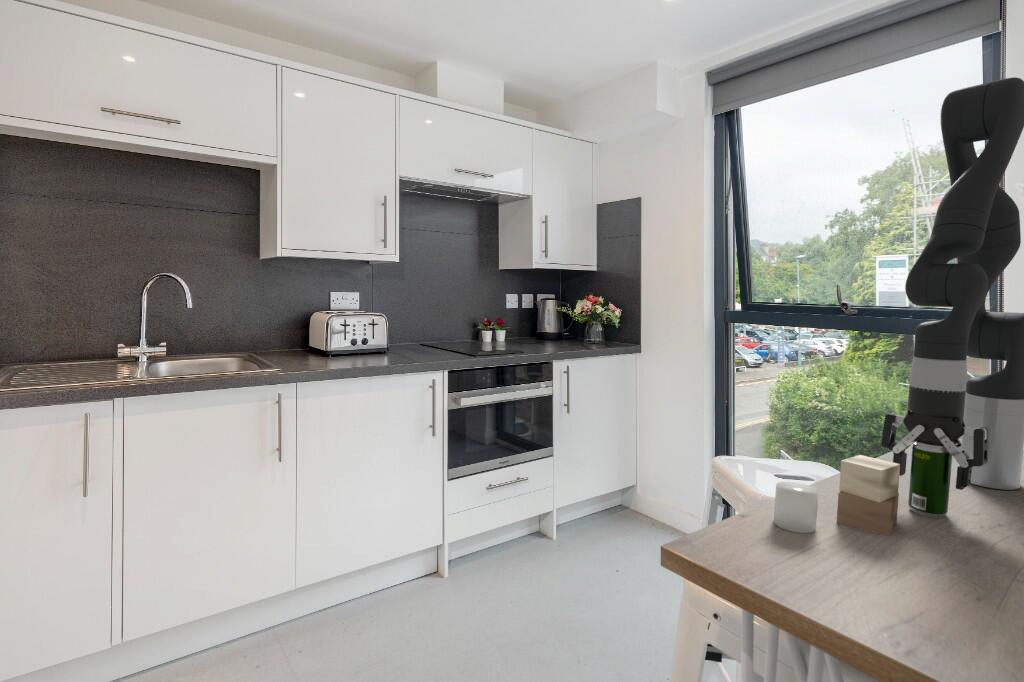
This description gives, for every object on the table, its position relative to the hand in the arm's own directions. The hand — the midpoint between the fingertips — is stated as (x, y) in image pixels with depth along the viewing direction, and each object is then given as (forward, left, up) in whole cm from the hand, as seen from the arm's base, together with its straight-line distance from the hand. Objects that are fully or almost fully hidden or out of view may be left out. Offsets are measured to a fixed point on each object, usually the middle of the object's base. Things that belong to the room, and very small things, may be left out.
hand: (929, 481), depth 96 cm
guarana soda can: (0, 0, -6) cm, 6 cm away
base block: (+13, -4, -6) cm, 15 cm away
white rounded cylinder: (+24, -10, -5) cm, 26 cm away
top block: (+13, -4, -1) cm, 14 cm away
